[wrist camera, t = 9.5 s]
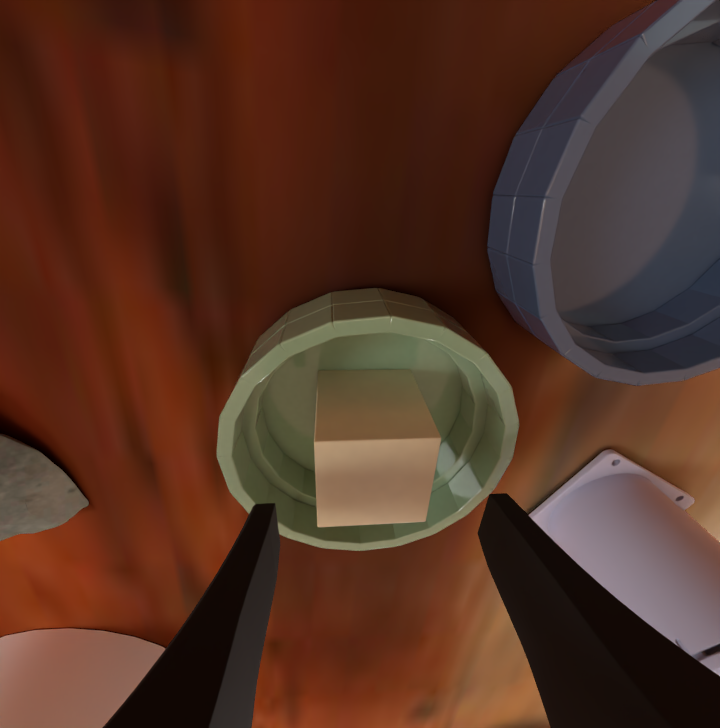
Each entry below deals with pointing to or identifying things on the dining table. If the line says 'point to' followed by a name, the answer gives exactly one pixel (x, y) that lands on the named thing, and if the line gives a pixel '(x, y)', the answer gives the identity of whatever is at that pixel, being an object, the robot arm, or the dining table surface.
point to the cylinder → (69, 676)
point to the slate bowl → (621, 202)
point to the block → (372, 448)
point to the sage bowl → (364, 352)
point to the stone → (33, 491)
